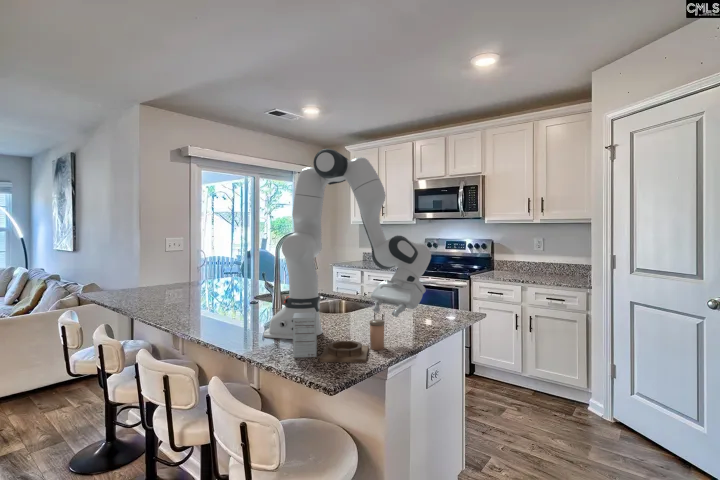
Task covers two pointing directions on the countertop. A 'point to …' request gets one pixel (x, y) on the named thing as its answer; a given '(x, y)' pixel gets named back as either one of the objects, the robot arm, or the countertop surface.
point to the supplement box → (304, 335)
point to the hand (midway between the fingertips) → (384, 313)
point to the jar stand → (345, 352)
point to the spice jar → (377, 334)
